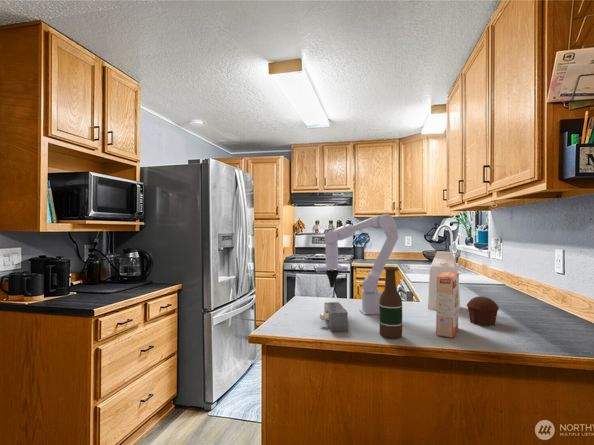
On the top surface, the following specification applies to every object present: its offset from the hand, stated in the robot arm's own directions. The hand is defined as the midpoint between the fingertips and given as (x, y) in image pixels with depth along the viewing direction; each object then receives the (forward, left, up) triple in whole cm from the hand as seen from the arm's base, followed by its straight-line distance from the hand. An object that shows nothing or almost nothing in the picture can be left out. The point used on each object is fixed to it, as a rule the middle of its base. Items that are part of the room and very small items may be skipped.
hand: (332, 287), depth 156 cm
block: (+3, +23, -10) cm, 25 cm away
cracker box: (-36, +35, -11) cm, 51 cm away
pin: (+4, +23, -9) cm, 25 cm away
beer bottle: (-14, +37, -11) cm, 41 cm away
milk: (-52, +2, -11) cm, 53 cm away
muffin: (-55, +26, -11) cm, 62 cm away
